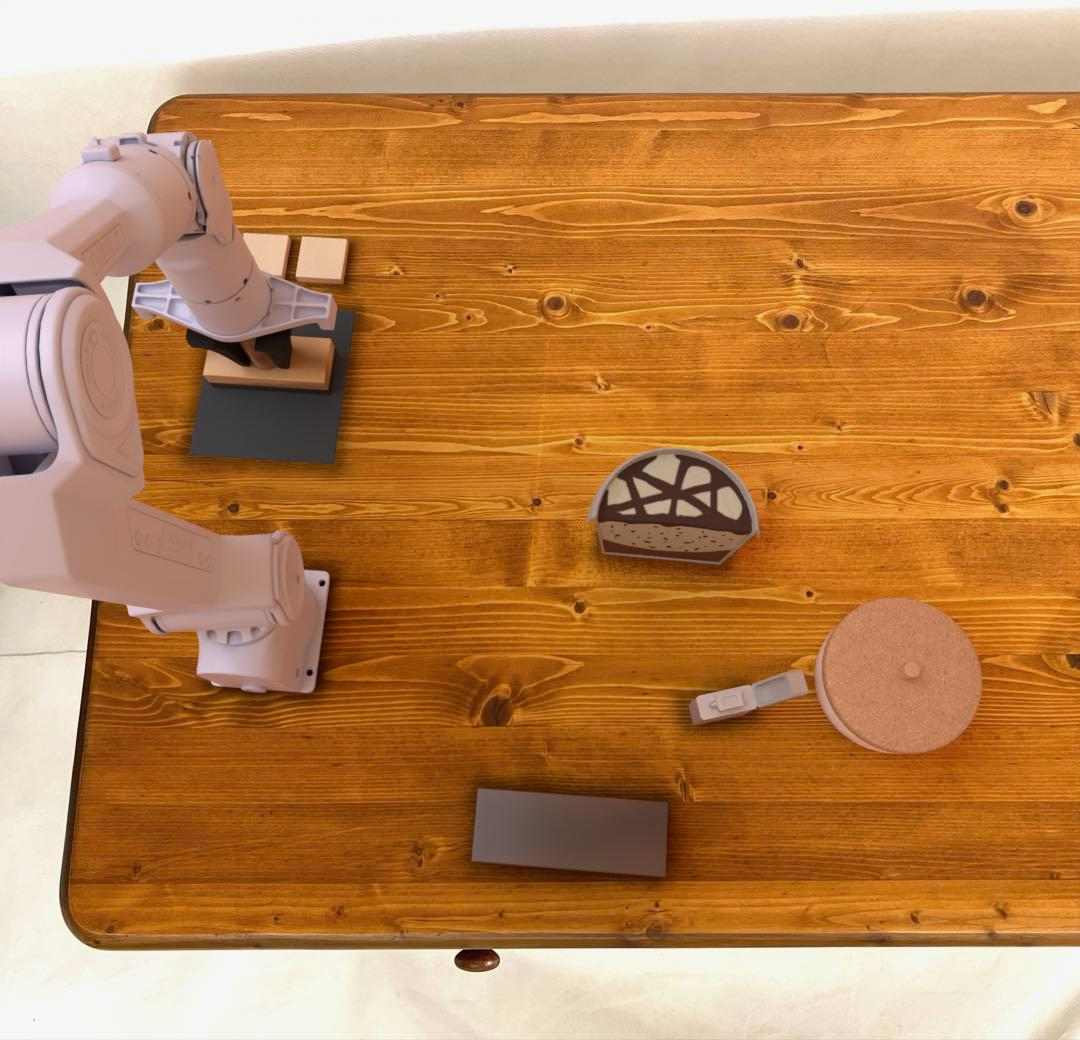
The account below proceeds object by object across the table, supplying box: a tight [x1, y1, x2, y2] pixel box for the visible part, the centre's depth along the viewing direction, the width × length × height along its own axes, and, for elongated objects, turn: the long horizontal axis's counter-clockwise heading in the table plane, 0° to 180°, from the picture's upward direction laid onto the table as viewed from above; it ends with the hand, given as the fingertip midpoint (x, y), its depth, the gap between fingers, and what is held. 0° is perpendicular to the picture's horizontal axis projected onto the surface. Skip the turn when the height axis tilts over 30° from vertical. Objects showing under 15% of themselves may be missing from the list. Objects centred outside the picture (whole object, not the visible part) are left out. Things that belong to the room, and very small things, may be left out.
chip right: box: [295, 236, 350, 285], centre depth 85 cm, size 4×4×1 cm
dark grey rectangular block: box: [470, 787, 669, 878], centre depth 69 cm, size 5×13×6 cm, turn 86°
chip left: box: [242, 232, 292, 280], centre depth 85 cm, size 4×4×1 cm
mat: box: [188, 309, 356, 465], centre depth 82 cm, size 14×12×1 cm
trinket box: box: [813, 596, 983, 755], centre depth 70 cm, size 11×11×9 cm
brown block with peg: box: [202, 336, 337, 395], centre depth 78 cm, size 4×10×8 cm, turn 86°
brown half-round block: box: [586, 446, 761, 566], centre depth 73 cm, size 12×6×10 cm, turn 84°
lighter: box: [687, 669, 809, 726], centre depth 70 cm, size 7×2×8 cm, turn 102°
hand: (267, 356), depth 80 cm, fingers closed on brown block with peg, 3 cm apart
